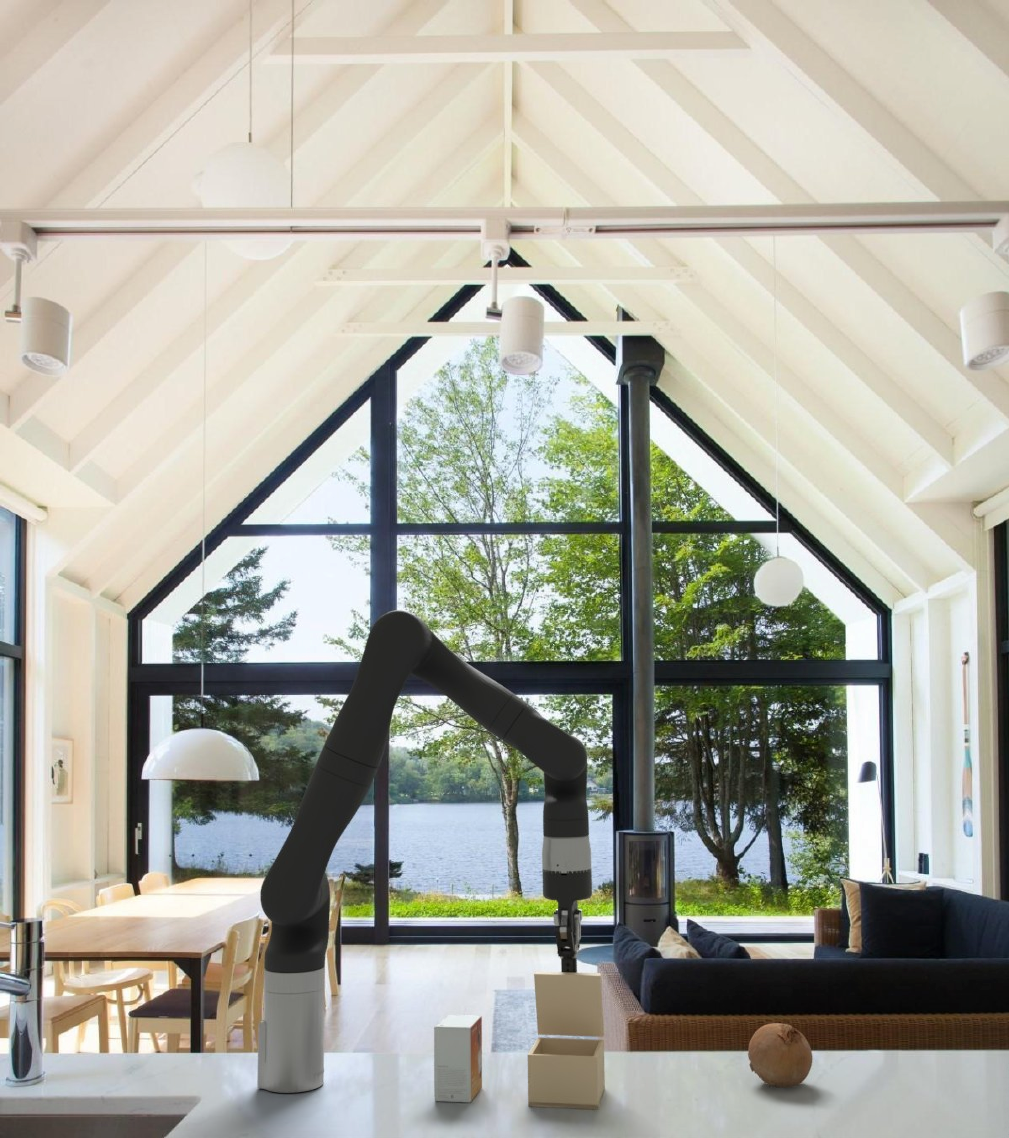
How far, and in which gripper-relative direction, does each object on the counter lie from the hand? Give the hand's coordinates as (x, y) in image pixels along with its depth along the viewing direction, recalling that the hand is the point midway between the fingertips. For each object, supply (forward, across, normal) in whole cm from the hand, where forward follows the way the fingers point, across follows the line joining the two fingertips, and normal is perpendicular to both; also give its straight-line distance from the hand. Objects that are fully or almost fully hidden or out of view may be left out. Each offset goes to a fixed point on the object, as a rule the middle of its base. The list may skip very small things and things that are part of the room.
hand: (569, 983), depth 180 cm
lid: (+3, +1, 0) cm, 3 cm away
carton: (+15, +4, 0) cm, 16 cm away
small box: (+15, +5, -16) cm, 23 cm away
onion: (+16, -7, +31) cm, 35 cm away
